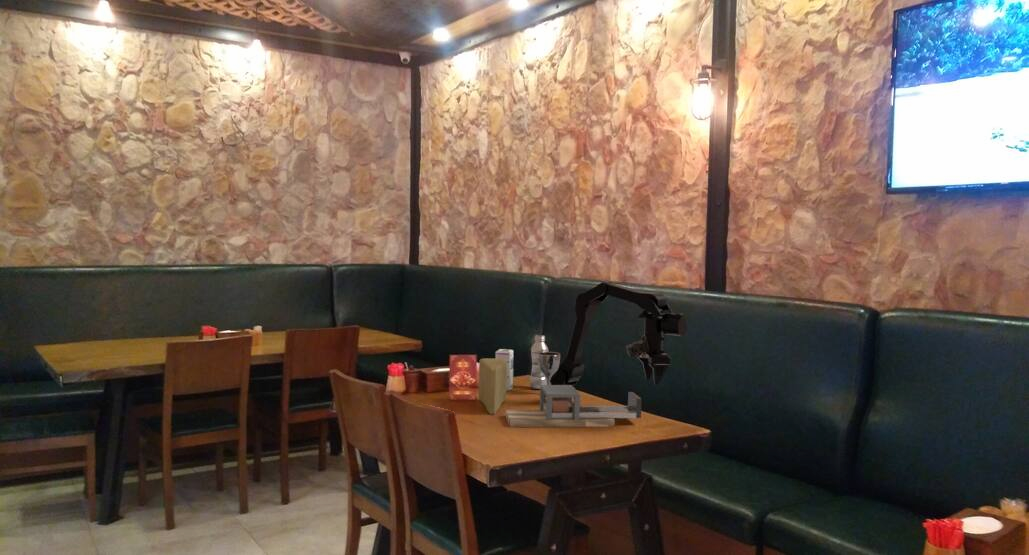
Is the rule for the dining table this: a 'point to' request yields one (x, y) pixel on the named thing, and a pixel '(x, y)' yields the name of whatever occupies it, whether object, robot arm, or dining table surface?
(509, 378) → the syrup box
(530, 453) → the dining table surface
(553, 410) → the block
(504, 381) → the cheese
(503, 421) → the dining table surface
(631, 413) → the frame
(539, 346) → the plastic bottle
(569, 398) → the tunnel
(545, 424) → the cream flat frame
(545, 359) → the wine glass
